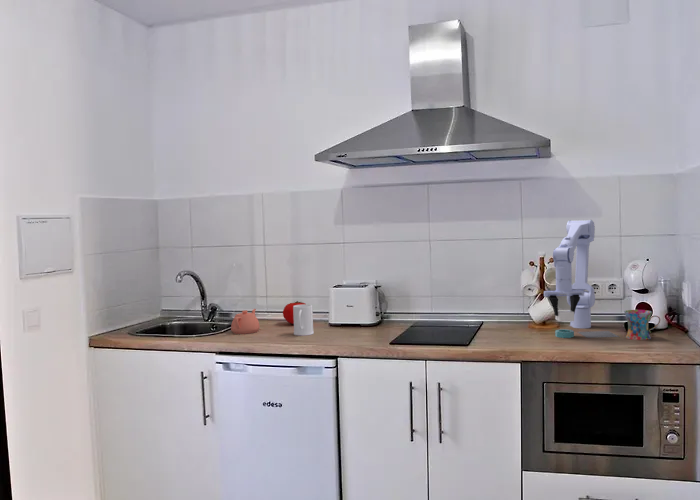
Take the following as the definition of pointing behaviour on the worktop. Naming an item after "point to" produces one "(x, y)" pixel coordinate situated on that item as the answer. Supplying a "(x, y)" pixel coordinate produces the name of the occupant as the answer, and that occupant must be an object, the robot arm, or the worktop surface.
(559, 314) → the white block
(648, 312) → the mug
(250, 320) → the teapot
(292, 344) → the worktop surface
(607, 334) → the mat
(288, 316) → the tomato
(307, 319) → the mug
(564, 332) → the bowl
